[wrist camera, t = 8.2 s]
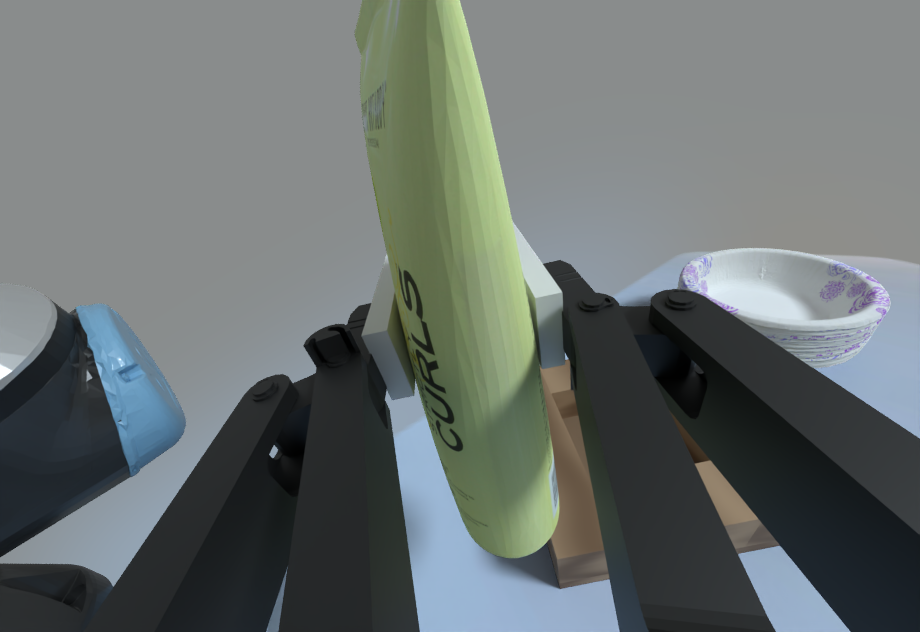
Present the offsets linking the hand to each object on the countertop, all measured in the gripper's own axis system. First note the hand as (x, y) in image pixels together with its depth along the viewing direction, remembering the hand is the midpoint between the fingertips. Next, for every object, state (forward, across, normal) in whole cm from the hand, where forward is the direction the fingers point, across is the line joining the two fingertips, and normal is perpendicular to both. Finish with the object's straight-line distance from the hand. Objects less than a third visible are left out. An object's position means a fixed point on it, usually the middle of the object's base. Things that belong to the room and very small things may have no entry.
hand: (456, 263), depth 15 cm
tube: (-5, 0, -11) cm, 12 cm away
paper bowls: (+12, +30, -22) cm, 39 cm away
